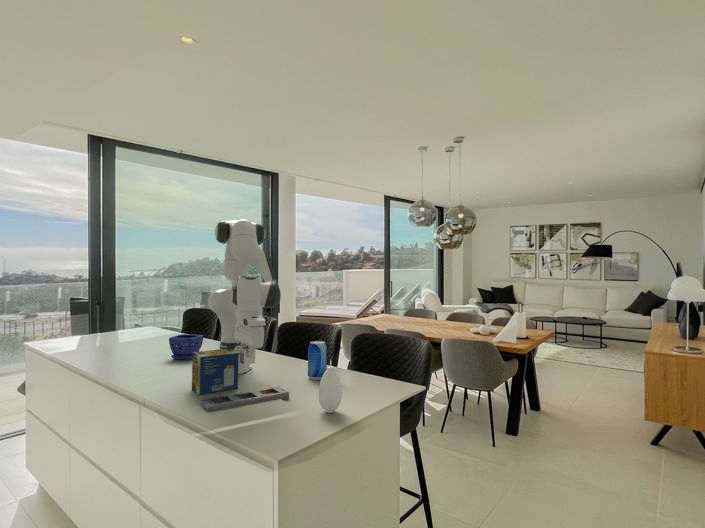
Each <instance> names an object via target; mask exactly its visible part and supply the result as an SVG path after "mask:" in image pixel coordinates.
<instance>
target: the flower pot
mask: <svg viewBox="0 0 705 528" xmlns="http://www.w3.org/2000/svg"><path fill="white" fill-rule="evenodd" d="M168 342H169V348H170V351H171V352H172V355H171V354H170V356H171V358H172V359H173V360H182V359H186V361H190V360H192V352H200V350H201V348H202V345H203V342H204V335H203V334H190V333H187V334H186V333H183V334H177V335H174V336H171V337H169V338H168Z"/></svg>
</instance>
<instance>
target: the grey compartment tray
mask: <svg viewBox="0 0 705 528" xmlns="http://www.w3.org/2000/svg"><path fill="white" fill-rule="evenodd" d="M276 399H277V400H278V399H280V400H282V401H284V400H289V399H290V391H288V390H286V389H284V388H283V387H280V386H279V385H278V386H273V387H266V388H261V389H256V390H255V389H254V390H249V391H244V392H243V391H242V392H238V393H237V392H236V393H233V394H227V395H226V394H225V395H219V396H214V397H210V398H209V397H208V398H204V399H200V401H199V402H200V403H199V404H200V406H202V408H203V409H204V410H206V412H213V411H218V410H219V411H220V410H224V409H228V408H230V409H231V408H233V407H234V408H235V407H240V406H244V405H245V406H246V405H251V404H255V403H256V404H257V403H261V402H265V401H272V400H276Z"/></svg>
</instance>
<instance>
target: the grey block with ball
mask: <svg viewBox="0 0 705 528" xmlns="http://www.w3.org/2000/svg"><path fill="white" fill-rule="evenodd" d="M248 352H249V349H248V346H246V347H240V363H242V364H243V365H246V364H250V365H253V364H256V350H255V351H254V357H253V358H248V357H247V356H248Z"/></svg>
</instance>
